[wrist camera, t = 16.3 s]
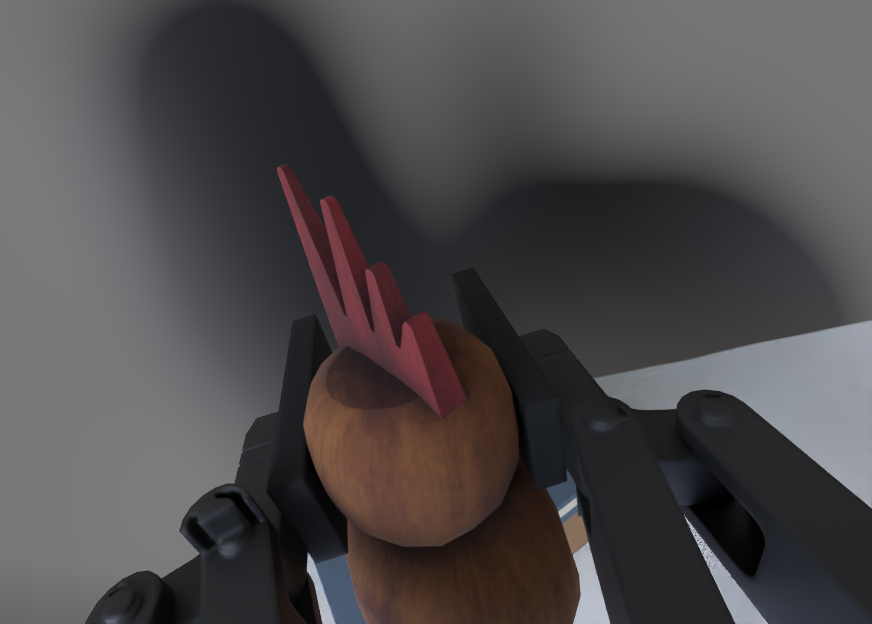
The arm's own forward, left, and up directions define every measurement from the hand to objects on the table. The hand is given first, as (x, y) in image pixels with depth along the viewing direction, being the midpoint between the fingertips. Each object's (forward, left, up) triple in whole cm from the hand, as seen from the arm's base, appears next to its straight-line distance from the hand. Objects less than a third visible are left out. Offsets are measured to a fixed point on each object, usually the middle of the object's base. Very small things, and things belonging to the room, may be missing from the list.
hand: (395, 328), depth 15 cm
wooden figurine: (+2, +5, -9) cm, 10 cm away
